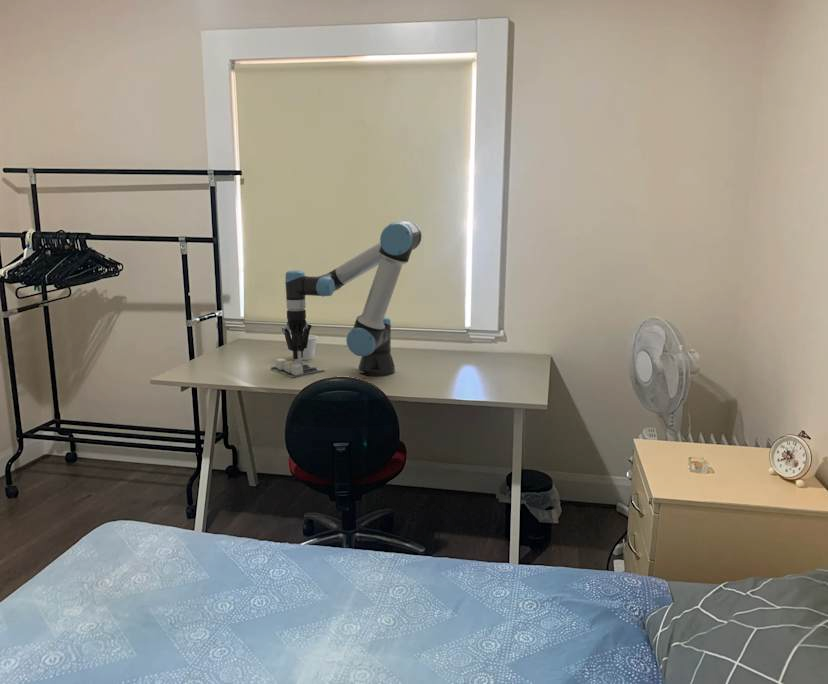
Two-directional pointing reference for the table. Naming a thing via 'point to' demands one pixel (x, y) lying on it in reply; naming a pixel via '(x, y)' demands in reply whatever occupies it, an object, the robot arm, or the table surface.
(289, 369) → the toggle
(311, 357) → the cup
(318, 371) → the panel
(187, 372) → the table surface
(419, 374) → the table surface
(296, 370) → the toggle
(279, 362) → the toggle
